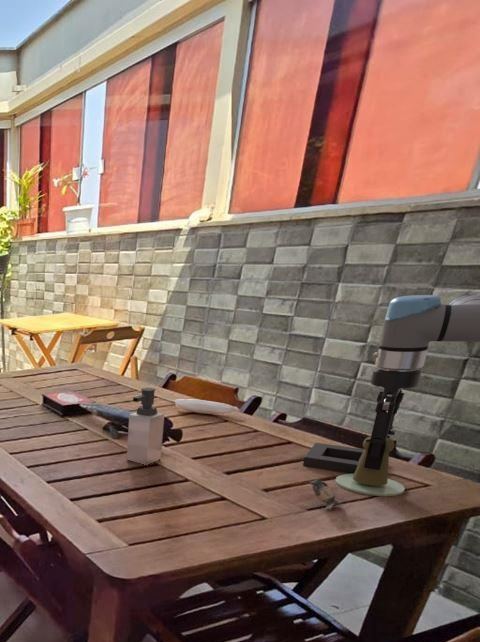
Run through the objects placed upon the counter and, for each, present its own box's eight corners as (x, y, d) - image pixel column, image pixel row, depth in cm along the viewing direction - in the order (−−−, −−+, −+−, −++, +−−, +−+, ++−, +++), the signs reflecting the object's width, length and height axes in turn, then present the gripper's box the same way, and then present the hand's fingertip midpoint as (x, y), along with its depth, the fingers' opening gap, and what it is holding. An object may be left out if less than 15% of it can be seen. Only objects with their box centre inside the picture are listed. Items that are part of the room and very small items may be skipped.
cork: (350, 481, 118) (360, 439, 115) (354, 473, 122) (364, 431, 118) (385, 487, 114) (397, 443, 110) (388, 479, 118) (400, 435, 114)
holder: (378, 459, 130) (380, 451, 129) (370, 476, 122) (372, 467, 122) (313, 450, 140) (315, 442, 139) (302, 465, 132) (304, 456, 131)
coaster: (407, 482, 118) (407, 480, 117) (400, 500, 110) (401, 498, 110) (340, 472, 126) (340, 469, 126) (330, 488, 119) (331, 485, 119)
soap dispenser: (121, 462, 148) (125, 391, 140) (140, 454, 151) (145, 385, 144) (141, 468, 142) (146, 394, 135) (160, 460, 146) (166, 388, 138)
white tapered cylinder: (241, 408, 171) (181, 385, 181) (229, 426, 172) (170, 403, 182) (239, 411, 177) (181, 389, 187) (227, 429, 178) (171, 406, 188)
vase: (299, 502, 115) (303, 479, 113) (317, 497, 116) (322, 474, 114) (323, 511, 110) (329, 487, 108) (343, 507, 111) (348, 483, 109)
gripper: (379, 359, 117) (358, 449, 125) (367, 375, 106) (345, 473, 114) (426, 361, 111) (400, 455, 119) (417, 378, 101) (390, 480, 108)
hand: (373, 464), depth 117 cm, fingers closed on cork, 5 cm apart
